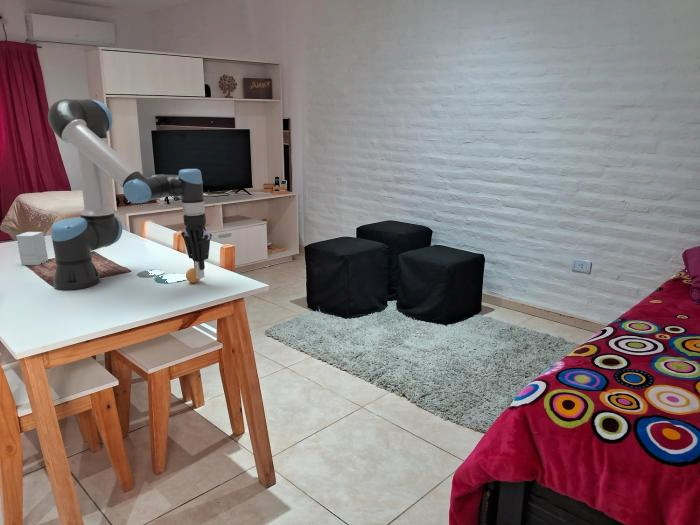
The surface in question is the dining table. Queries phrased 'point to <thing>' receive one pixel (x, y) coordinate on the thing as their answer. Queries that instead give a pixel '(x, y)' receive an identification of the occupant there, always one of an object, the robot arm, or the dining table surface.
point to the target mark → (160, 279)
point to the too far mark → (145, 274)
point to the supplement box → (32, 248)
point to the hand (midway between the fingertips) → (200, 277)
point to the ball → (191, 275)
